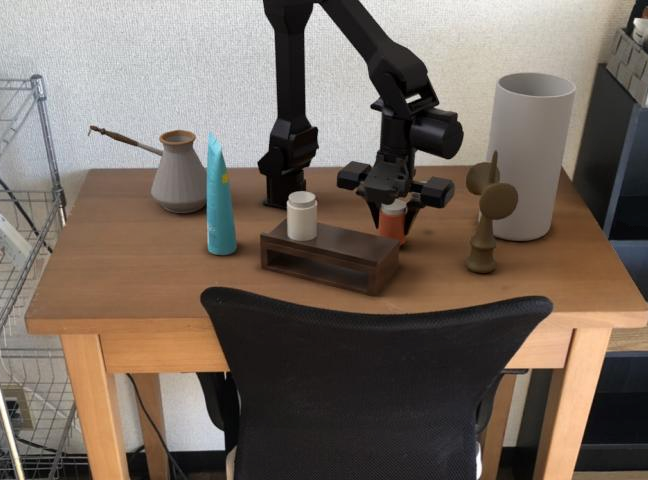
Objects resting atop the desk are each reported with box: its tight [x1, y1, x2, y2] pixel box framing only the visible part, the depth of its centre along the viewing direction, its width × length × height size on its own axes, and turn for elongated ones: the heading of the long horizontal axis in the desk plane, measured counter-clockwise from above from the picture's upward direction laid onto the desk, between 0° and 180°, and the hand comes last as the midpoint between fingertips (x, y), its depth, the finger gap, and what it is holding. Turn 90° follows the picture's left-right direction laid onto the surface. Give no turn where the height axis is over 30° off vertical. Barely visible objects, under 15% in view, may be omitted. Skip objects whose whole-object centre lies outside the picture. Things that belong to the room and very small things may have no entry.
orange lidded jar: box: [377, 198, 407, 246], centre depth 142 cm, size 5×5×6 cm
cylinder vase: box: [478, 71, 577, 242], centre depth 143 cm, size 12×12×25 cm
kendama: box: [464, 150, 518, 274], centre depth 132 cm, size 6×10×20 cm, turn 8°
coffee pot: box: [87, 124, 207, 214], centre depth 152 cm, size 21×12×15 cm, turn 91°
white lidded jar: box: [286, 191, 318, 241], centre depth 135 cm, size 5×5×6 cm
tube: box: [206, 130, 238, 256], centre depth 137 cm, size 7×5×19 cm, turn 26°
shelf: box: [259, 217, 401, 297], centre depth 136 cm, size 20×10×6 cm, turn 64°
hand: (392, 231), depth 143 cm, fingers closed on orange lidded jar, 5 cm apart
